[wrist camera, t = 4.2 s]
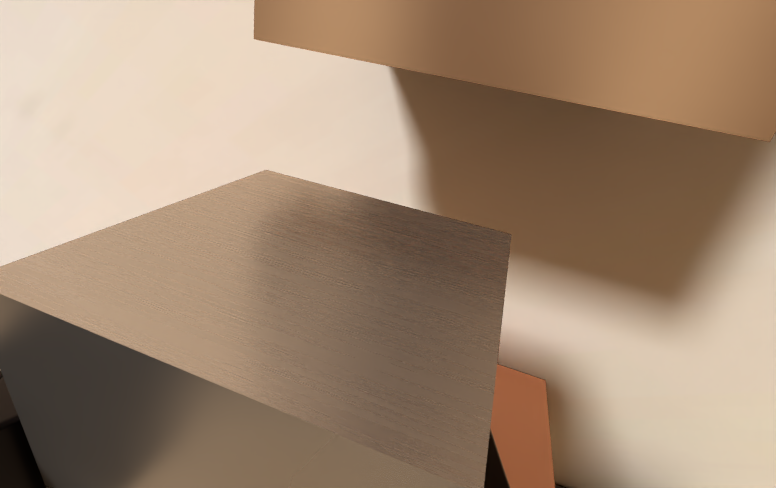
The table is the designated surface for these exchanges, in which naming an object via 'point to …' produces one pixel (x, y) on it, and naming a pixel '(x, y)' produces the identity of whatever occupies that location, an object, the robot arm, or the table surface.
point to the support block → (259, 344)
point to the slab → (564, 50)
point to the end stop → (522, 429)
